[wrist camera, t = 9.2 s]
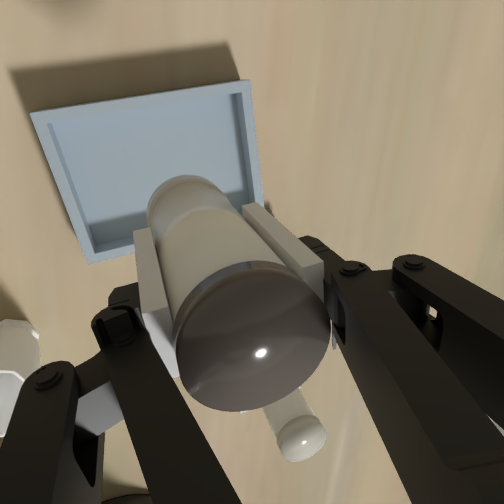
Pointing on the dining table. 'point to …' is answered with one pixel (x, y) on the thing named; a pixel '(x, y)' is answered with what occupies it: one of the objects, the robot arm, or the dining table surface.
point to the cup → (15, 363)
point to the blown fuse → (231, 301)
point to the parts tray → (147, 156)
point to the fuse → (295, 427)
